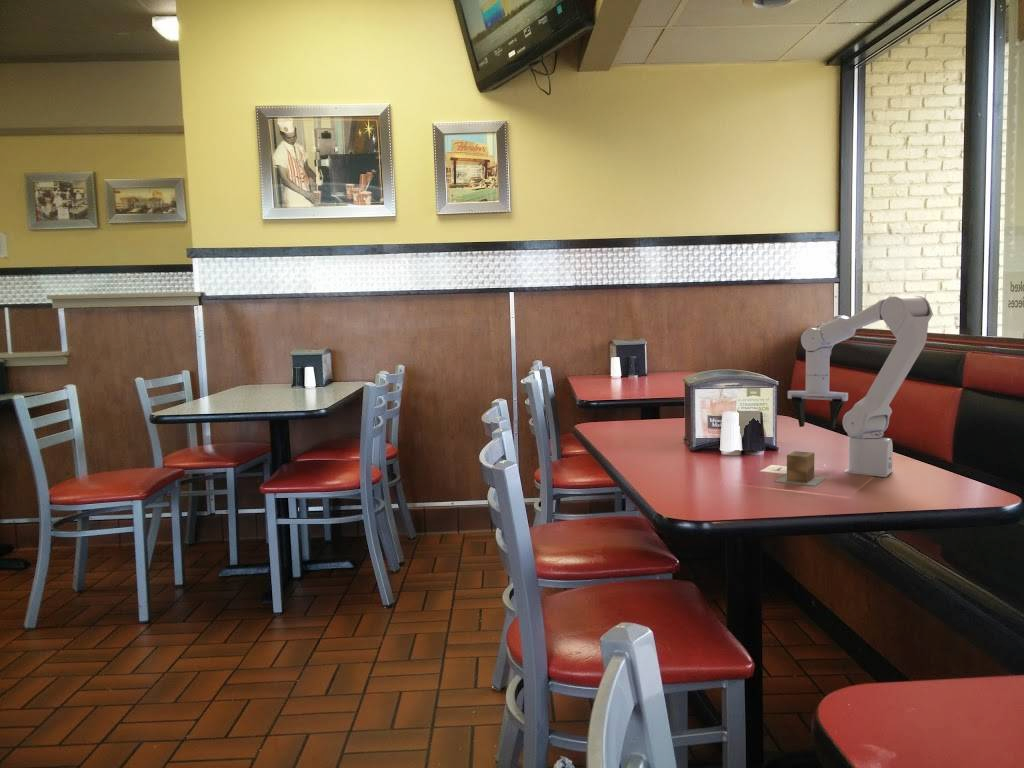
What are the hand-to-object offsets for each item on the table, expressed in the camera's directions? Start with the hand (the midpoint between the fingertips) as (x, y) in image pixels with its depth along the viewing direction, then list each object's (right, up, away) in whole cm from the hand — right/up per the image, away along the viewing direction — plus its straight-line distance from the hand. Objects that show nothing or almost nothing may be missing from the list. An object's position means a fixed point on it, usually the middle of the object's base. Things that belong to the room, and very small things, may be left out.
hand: (817, 427), depth 199 cm
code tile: (-11, -11, -8) cm, 17 cm away
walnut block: (-12, -11, -20) cm, 26 cm away
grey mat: (-12, -12, -20) cm, 26 cm away
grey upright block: (-12, -8, +20) cm, 24 cm away
